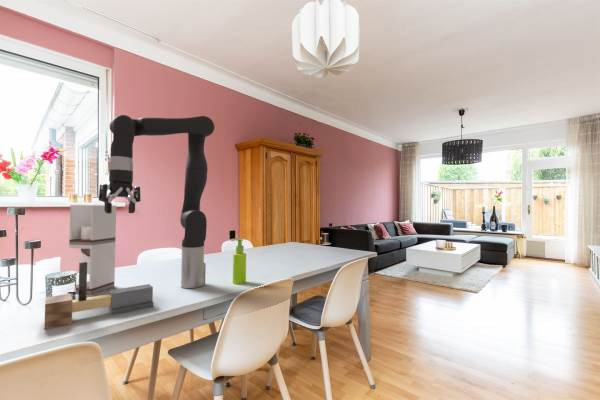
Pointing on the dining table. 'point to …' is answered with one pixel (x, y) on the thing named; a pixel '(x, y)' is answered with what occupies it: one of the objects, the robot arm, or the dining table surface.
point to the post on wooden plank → (82, 301)
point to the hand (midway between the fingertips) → (120, 213)
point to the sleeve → (131, 299)
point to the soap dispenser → (239, 263)
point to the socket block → (58, 311)
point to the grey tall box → (94, 243)
